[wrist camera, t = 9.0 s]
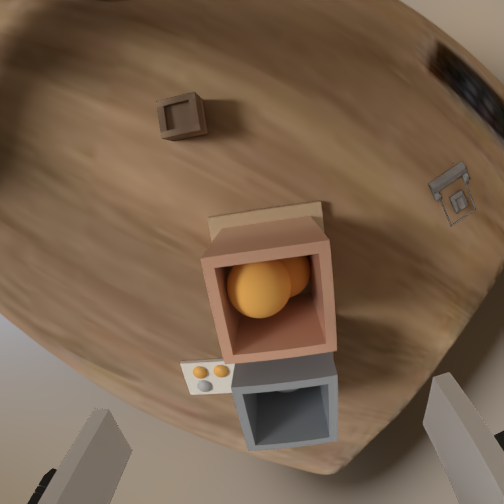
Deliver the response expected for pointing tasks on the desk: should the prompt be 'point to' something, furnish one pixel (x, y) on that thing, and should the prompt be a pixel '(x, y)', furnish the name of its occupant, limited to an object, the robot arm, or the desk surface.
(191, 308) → the desk surface
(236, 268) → the ball
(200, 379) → the tile
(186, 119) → the stand
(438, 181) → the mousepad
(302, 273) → the ball in tube
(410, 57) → the desk surface
